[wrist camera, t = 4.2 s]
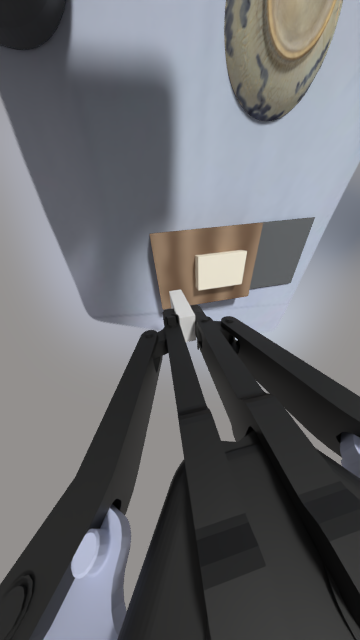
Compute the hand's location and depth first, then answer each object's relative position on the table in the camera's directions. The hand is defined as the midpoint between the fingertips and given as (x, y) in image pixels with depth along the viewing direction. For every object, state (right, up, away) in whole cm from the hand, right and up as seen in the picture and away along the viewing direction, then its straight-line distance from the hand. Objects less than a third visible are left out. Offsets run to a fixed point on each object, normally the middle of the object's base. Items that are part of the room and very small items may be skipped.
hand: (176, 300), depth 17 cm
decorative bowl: (+13, +34, 0) cm, 36 cm away
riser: (+5, +9, +13) cm, 17 cm away
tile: (+8, +8, +10) cm, 15 cm away
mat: (+22, +12, +15) cm, 29 cm away
